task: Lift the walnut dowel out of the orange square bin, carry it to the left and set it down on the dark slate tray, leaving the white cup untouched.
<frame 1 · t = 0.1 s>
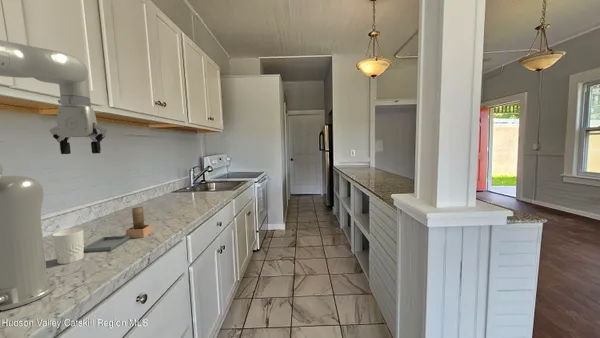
hand: (81, 153, 85), 37 cm above the counter, tool pointing down, fingers open, 9 cm apart
orange square bin: (139, 236, 108), on the counter
tray: (107, 246, 97), on the counter
white cup: (71, 260, 86), on the counter
peg: (139, 235, 108), resting on orange square bin
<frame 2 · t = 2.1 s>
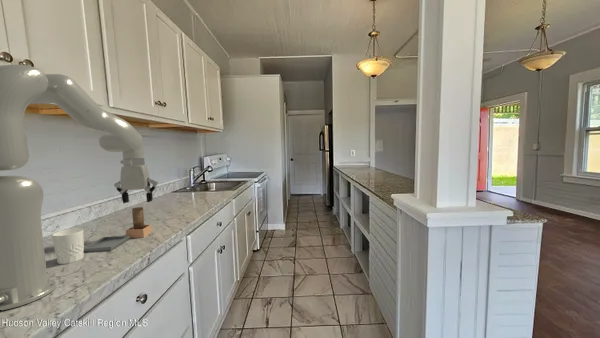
hand: (137, 201, 107), 15 cm above the counter, tool pointing down, fingers open, 9 cm apart
nothing on the counter moved.
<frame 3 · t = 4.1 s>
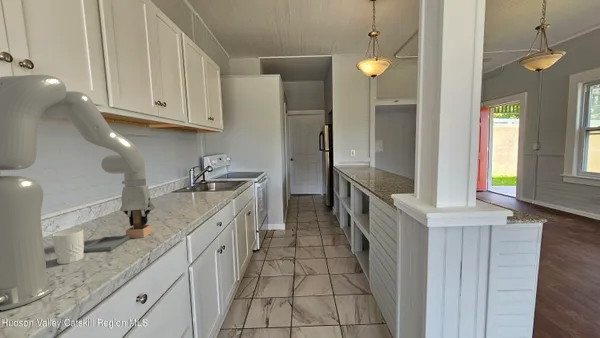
hand: (138, 224, 108), 5 cm above the counter, tool pointing down, fingers closed on peg, 4 cm apart
peg: (139, 235, 108), resting on orange square bin, touching gripper
everything else where it was.
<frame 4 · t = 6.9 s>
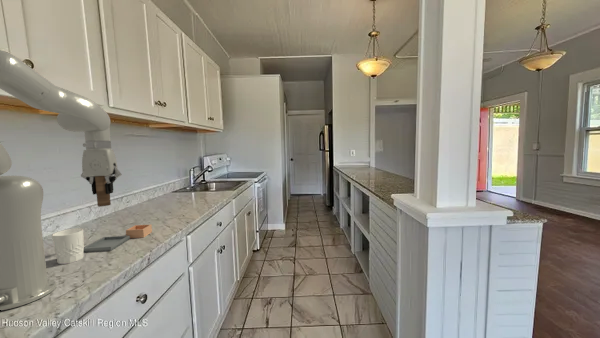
hand: (103, 193, 95), 21 cm above the counter, tool pointing down, fingers closed on peg, 4 cm apart
peg: (104, 205, 96), point 17 cm above the counter, touching gripper
everything else where it was.
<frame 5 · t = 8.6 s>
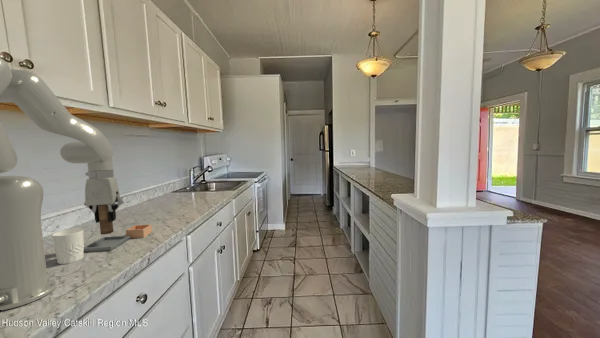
hand: (105, 220, 97), 10 cm above the counter, tool pointing down, fingers closed on peg, 4 cm apart
peg: (107, 232, 97), point 5 cm above the counter, touching gripper
everything else where it was.
when the fingers open (7 cm above the counter, at t = 10.0 s): peg drops 1 cm, resting on tray.
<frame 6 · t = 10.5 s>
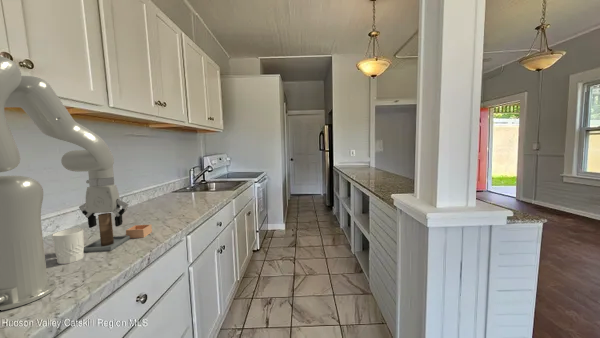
hand: (105, 226, 96), 8 cm above the counter, tool pointing down, fingers open, 9 cm apart
peg: (107, 244, 97), point 1 cm above the counter, touching tray
everything else where it was.
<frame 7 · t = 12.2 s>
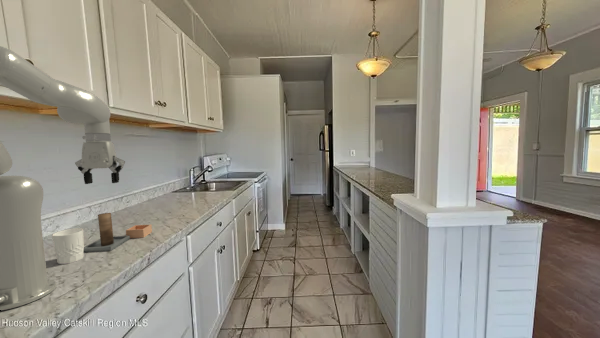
hand: (102, 183, 96), 25 cm above the counter, tool pointing down, fingers open, 9 cm apart
nothing on the counter moved.
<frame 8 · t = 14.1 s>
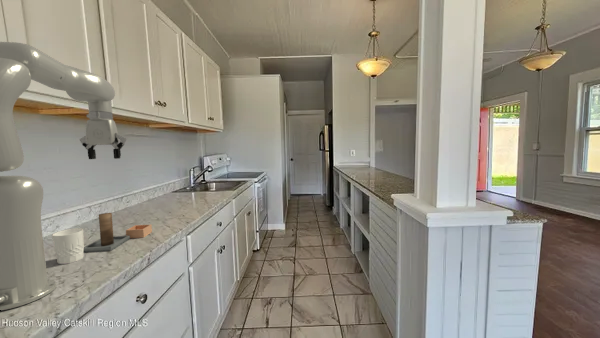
hand: (104, 158, 103), 34 cm above the counter, tool pointing down, fingers open, 9 cm apart
nothing on the counter moved.
at the end: peg inside the target area on the tray (0.0 cm from its centre), point 1.0 cm above the tray's base; the gripper is holding nothing; peg moved 12.4 cm from its start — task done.
